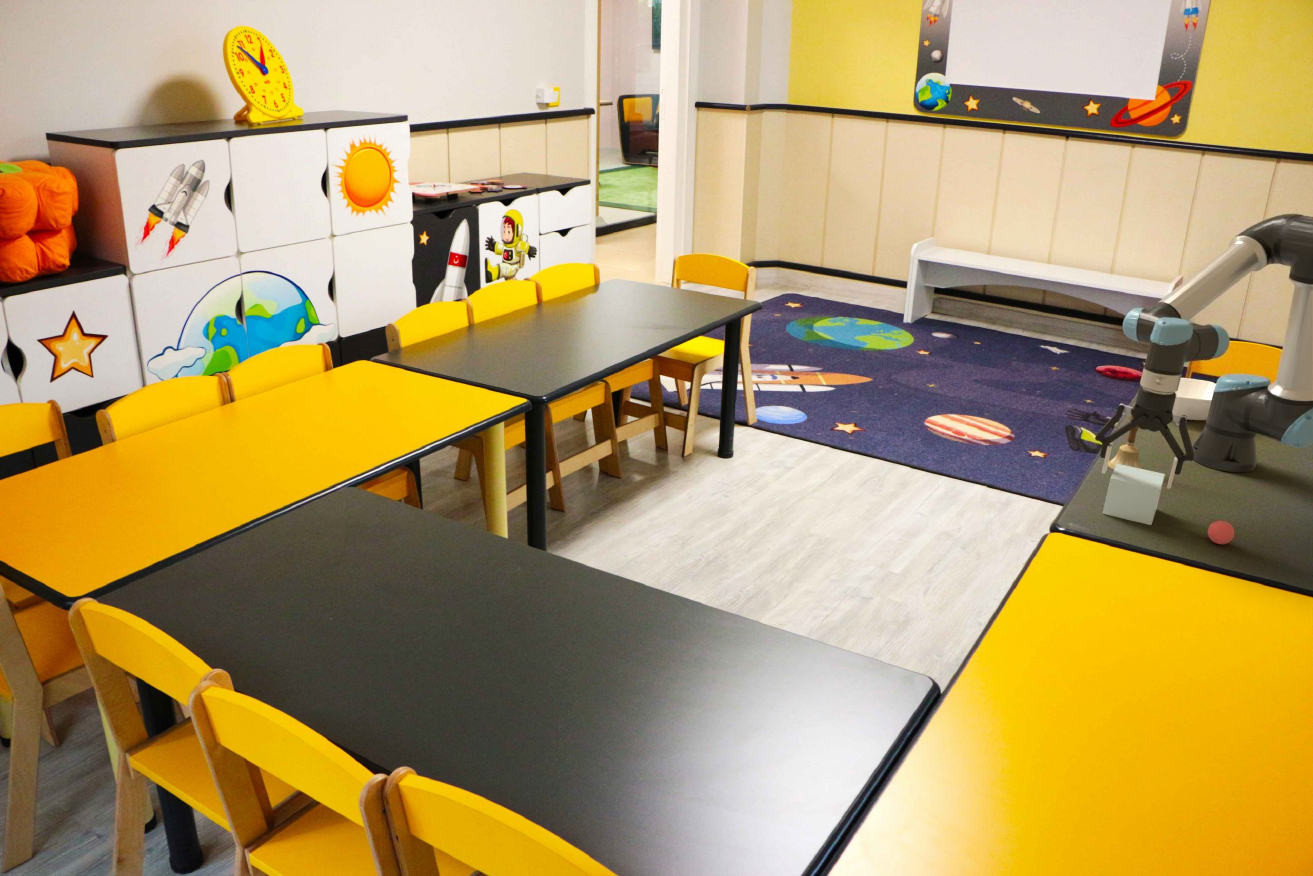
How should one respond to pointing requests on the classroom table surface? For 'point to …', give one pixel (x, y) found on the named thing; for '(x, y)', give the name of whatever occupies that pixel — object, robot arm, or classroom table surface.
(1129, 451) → the hand bell
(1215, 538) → the ball
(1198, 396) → the bowl
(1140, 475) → the rounded gray box
